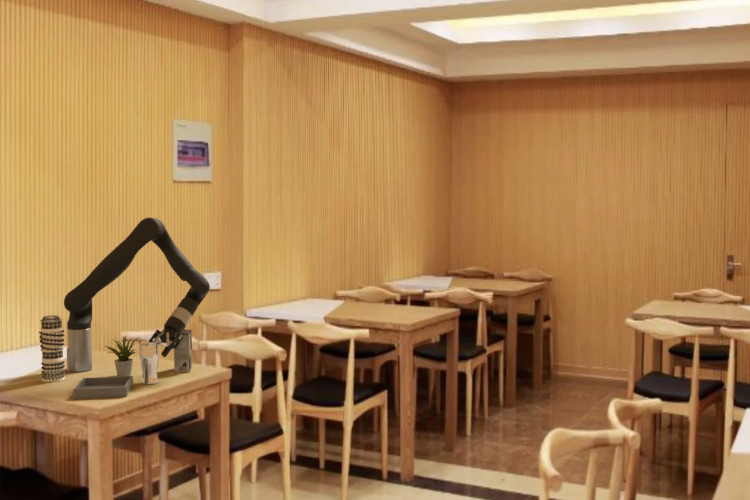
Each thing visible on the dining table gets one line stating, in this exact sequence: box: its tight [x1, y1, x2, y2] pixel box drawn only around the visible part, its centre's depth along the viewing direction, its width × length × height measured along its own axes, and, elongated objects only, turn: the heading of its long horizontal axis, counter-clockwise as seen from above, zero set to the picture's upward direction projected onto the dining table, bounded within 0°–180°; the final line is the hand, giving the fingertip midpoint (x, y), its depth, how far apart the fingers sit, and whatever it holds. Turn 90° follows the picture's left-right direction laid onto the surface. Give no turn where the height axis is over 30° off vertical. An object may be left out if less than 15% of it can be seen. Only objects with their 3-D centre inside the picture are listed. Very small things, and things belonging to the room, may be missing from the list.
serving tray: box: [73, 375, 134, 400], centre depth 311 cm, size 18×18×4 cm
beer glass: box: [139, 342, 160, 385], centre depth 324 cm, size 7×7×15 cm
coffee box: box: [173, 328, 193, 373], centre depth 347 cm, size 9×6×16 cm
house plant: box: [104, 335, 141, 377], centre depth 338 cm, size 14×14×16 cm
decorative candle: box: [38, 314, 66, 383], centre depth 330 cm, size 9×9×25 cm
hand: (155, 354), depth 327 cm, fingers open, 8 cm apart
